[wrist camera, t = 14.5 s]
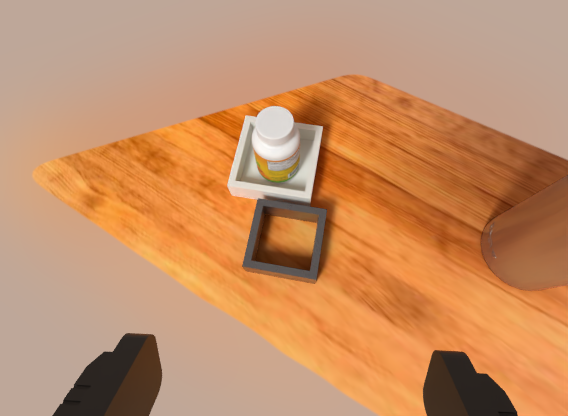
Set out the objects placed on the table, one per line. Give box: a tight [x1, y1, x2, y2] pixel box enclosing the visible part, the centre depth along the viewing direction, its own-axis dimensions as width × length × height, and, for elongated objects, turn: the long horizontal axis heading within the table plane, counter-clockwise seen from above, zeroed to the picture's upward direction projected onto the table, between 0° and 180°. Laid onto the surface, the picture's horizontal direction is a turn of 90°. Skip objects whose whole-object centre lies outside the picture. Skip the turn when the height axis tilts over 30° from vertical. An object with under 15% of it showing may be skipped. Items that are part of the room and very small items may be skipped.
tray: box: [227, 116, 323, 207], centre depth 43 cm, size 10×10×3 cm
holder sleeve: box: [242, 198, 327, 284], centre depth 39 cm, size 8×8×3 cm
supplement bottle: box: [252, 106, 300, 184], centre depth 39 cm, size 5×5×10 cm
